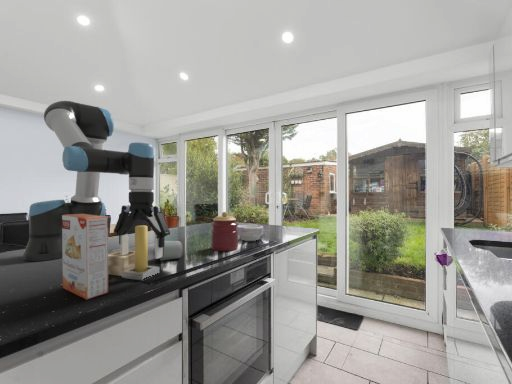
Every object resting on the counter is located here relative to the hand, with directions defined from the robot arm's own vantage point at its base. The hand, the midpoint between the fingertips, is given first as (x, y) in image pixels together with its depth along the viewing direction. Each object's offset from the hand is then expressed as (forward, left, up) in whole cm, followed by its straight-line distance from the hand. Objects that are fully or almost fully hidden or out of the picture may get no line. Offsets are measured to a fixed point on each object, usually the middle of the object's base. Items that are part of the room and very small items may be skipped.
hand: (141, 256), depth 88 cm
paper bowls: (+13, +72, -7) cm, 73 cm away
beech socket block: (-9, +2, -6) cm, 11 cm away
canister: (+9, +46, -7) cm, 47 cm away
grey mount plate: (0, 0, -6) cm, 6 cm away
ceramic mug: (-5, +22, -7) cm, 23 cm away
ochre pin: (0, 0, -6) cm, 6 cm away
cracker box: (-5, -16, -7) cm, 18 cm away
